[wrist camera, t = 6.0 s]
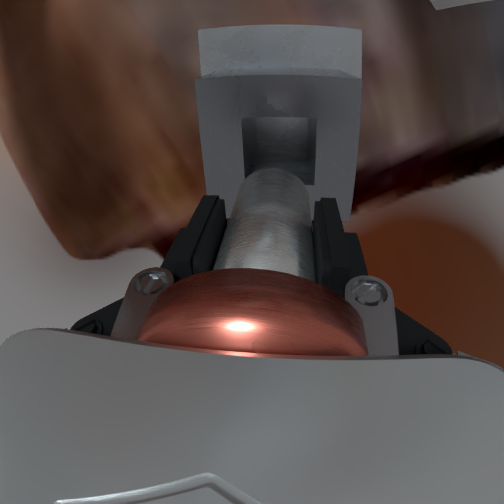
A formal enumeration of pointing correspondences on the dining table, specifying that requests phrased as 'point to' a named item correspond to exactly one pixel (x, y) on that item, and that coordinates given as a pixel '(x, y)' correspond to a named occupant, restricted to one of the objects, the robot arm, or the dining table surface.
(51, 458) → the robot arm
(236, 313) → the pin
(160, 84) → the dining table surface
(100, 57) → the dining table surface
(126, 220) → the dining table surface
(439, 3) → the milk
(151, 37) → the dining table surface
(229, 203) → the receiver
